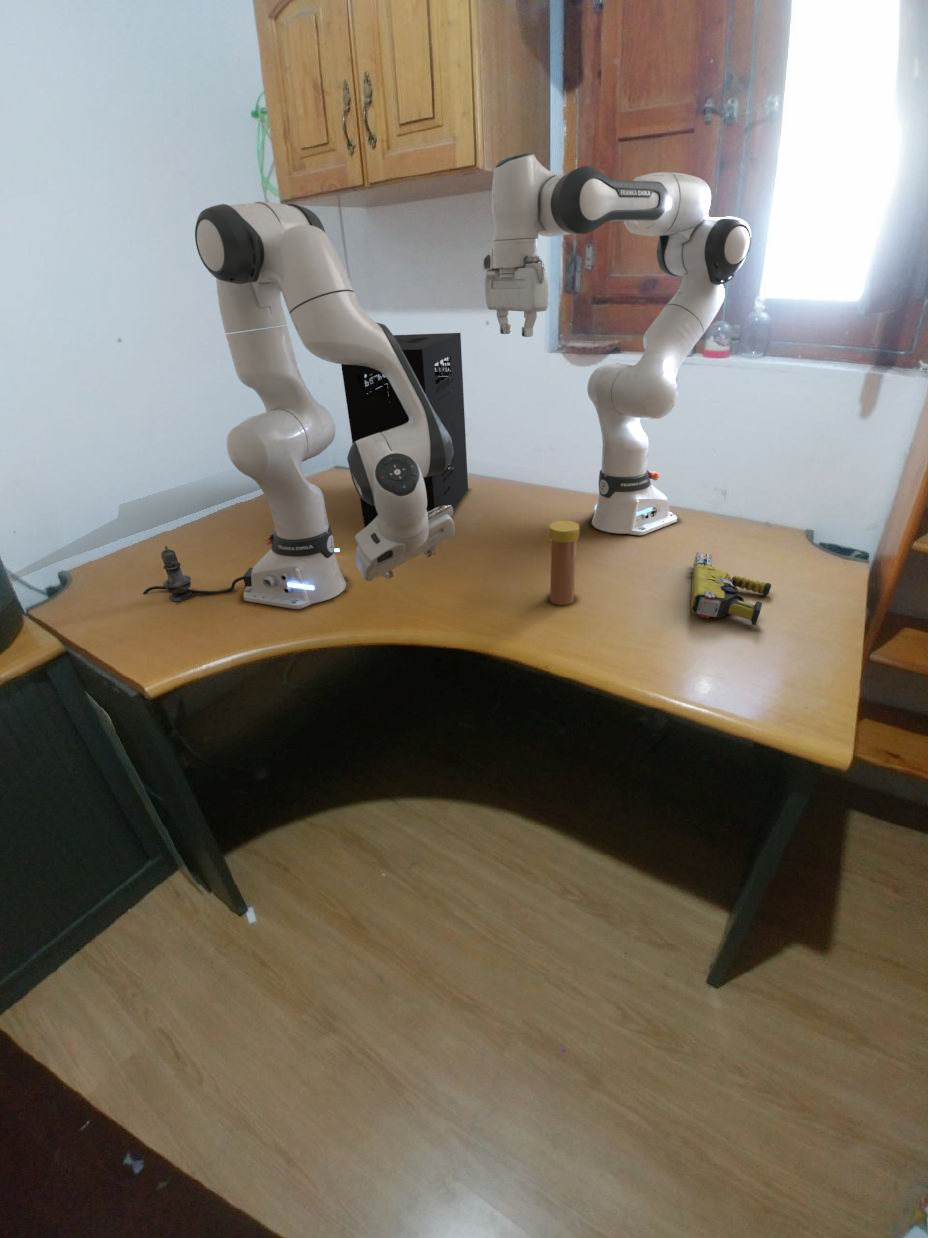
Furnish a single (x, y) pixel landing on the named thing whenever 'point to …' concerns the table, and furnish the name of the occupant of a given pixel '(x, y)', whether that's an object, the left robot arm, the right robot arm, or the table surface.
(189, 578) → the grey chess piece
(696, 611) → the toy gun
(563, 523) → the lid
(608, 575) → the table surface
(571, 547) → the jar
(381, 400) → the black computer case
